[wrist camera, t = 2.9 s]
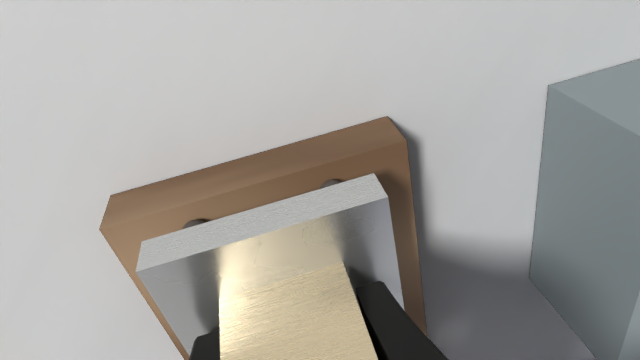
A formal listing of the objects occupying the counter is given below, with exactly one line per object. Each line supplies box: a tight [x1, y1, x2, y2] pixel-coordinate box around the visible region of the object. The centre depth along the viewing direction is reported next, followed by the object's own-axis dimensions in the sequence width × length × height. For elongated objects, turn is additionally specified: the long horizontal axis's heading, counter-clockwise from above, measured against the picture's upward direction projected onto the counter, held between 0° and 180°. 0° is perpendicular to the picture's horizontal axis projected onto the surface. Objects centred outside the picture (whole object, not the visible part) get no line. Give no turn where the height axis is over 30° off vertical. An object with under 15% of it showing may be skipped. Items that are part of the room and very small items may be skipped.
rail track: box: [99, 116, 427, 360], centre depth 15 cm, size 14×8×2 cm, turn 12°
